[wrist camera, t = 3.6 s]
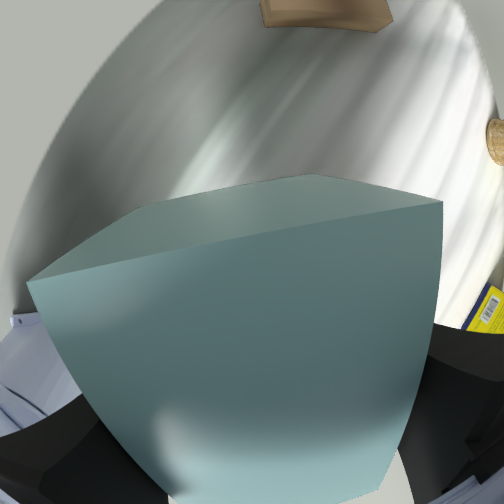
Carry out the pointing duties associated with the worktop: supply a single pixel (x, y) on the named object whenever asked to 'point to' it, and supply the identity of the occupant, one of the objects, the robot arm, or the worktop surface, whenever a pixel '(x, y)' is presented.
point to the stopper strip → (327, 14)
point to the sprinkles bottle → (496, 140)
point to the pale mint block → (254, 335)
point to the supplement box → (487, 312)
